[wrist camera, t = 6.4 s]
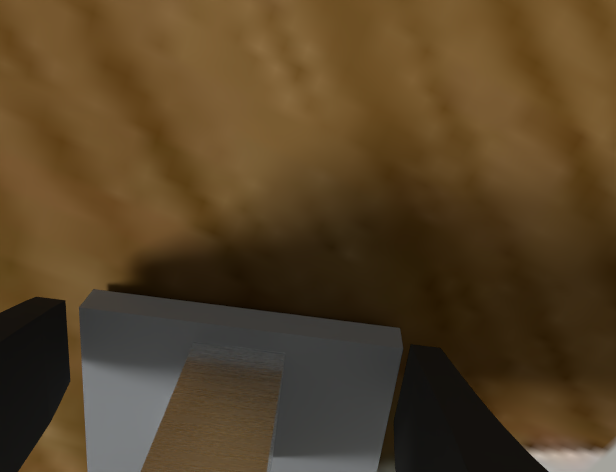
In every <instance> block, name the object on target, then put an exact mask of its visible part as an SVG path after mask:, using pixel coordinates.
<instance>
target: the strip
mask: <svg viewBox="0 0 616 472" xmlns="http://www.w3.org/2000/svg"><path fill="white" fill-rule="evenodd" d="M79 316H80V335H81V354H82V373H83V392H84V411H85V430H86V449H87V468H88V472H377V469H378V464H379V459H380V455H381V450H382V445H383V441H384V436H385V431H386V427H387V422H388V417H389V413H390V408H391V403H392V399H393V394H394V389H395V385H396V380H397V375H398V371H399V366H400V361H401V357H402V352H403V344H402V338H401V331H400V328H395V327H387V326H380V325H372V324H364V323H356V322H348V321H340V320H332V319H324V318H316V317H309V316H301V315H293V314H285V313H277V312H269V311H261V310H253V309H245V308H237V307H230V306H222V305H214V304H206V303H198V302H190V301H182V300H174V299H166V298H159V297H151V296H143V295H135V294H127V293H119V292H111V291H103V290H95V289H93V290H92V292H91V293H90V294H89V295H88V297H87V298H86V299H85V301H84V302H83V303H82V304H81V306H80V307H79Z"/></svg>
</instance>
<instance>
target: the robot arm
mask: <svg viewBox="0 0 616 472" xmlns="http://www.w3.org/2000/svg"><path fill="white" fill-rule="evenodd" d="M69 382H70V368H69V352H68V336H67V320H66V305H65V300H58V299H50V298H42V297H34V298H32V299H29V300H27V301H25V302H22V303H20V304H18V305H16V306H14V307H12V308H10V309H7V310H5V311H3V312H1V313H0V472H18V471H19V469H20V468H21V466H22V465H23V463H24V462H25V460H26V459H27V457H28V456H29V454H30V453H31V451H32V450H33V448H34V447H35V445H36V444H37V442H38V441H39V439H40V437H41V436H42V434H43V433H44V431H45V430H46V428H47V427H48V425H49V424H50V422H51V420H52V418H53V416H54V414H55V412H56V410H57V408H58V406H59V404H60V402H61V400H62V398H63V395H64V393H65V391H66V389H67V387H68V385H69ZM394 449H395V468H396V472H548V471H547V470H546V469H545V468H544V467H543V466H542V465H541V464H540V463H539V462H538V461H537V460H535V459H534V458H533V457H532V456H531V455H530V454H529V453H528V452H527V451H526V450H525V449H524V448H523V446H522V445H521V444H520V443H519V442H518V441H517V440H516V439H515V438H514V437H513V436H512V435H511V434H510V433H509V432H508V431H507V430H506V428H505V427H504V426H503V425H502V424H501V423H500V422H499V421H498V419H497V418H496V417H495V416H494V415H493V414H492V413H491V411H490V410H489V409H488V408H487V407H486V406H485V404H484V403H483V402H482V401H481V399H480V398H479V397H478V396H477V395H476V393H475V392H474V391H473V390H472V388H471V387H470V386H469V385H468V383H467V382H466V381H465V379H464V378H463V377H462V376H461V374H460V373H459V372H458V370H457V369H456V368H455V366H454V365H453V364H452V362H451V361H450V360H449V359H448V357H447V356H446V355H445V353H444V352H443V351H442V350H441V348H436V347H428V346H420V345H412V344H411V346H410V350H409V355H408V359H407V364H406V368H405V373H404V378H403V382H402V387H401V391H400V396H399V400H398V405H397V409H396V414H395V418H394Z"/></svg>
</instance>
